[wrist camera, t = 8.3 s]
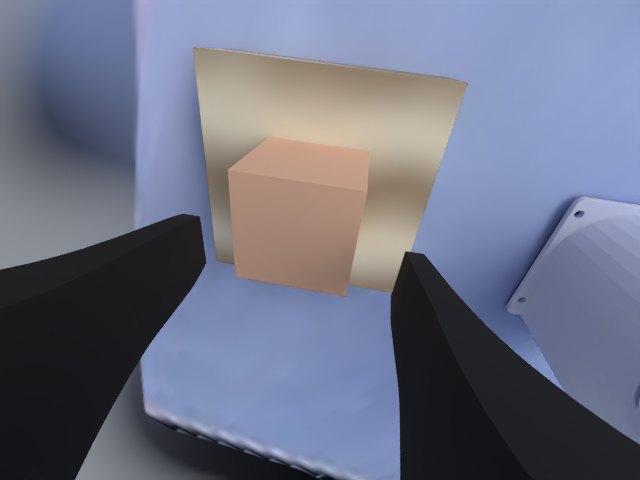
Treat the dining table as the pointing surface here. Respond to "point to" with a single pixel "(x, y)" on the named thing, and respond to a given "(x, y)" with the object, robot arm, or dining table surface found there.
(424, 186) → the birch base block
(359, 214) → the terracotta cube
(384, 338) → the dining table surface
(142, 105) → the dining table surface
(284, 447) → the dining table surface
